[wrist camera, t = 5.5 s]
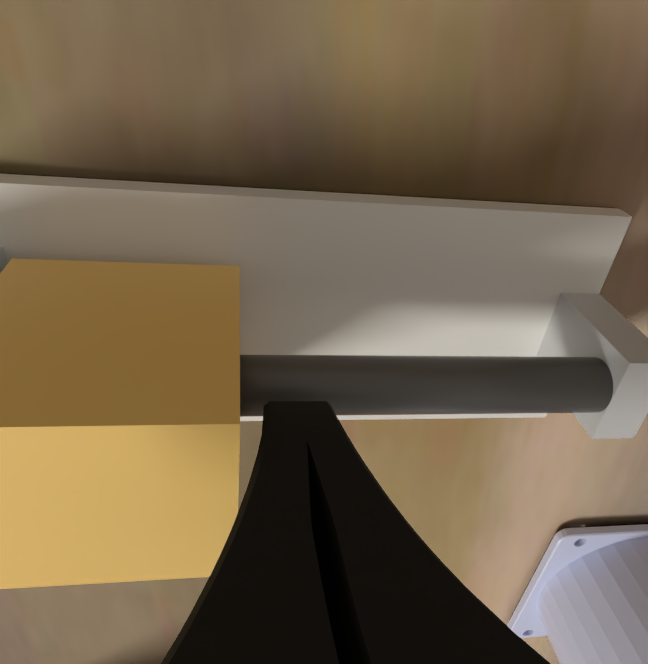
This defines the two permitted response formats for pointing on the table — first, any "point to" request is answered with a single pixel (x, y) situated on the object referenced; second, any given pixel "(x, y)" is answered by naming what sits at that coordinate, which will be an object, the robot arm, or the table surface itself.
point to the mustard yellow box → (117, 420)
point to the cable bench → (376, 293)
